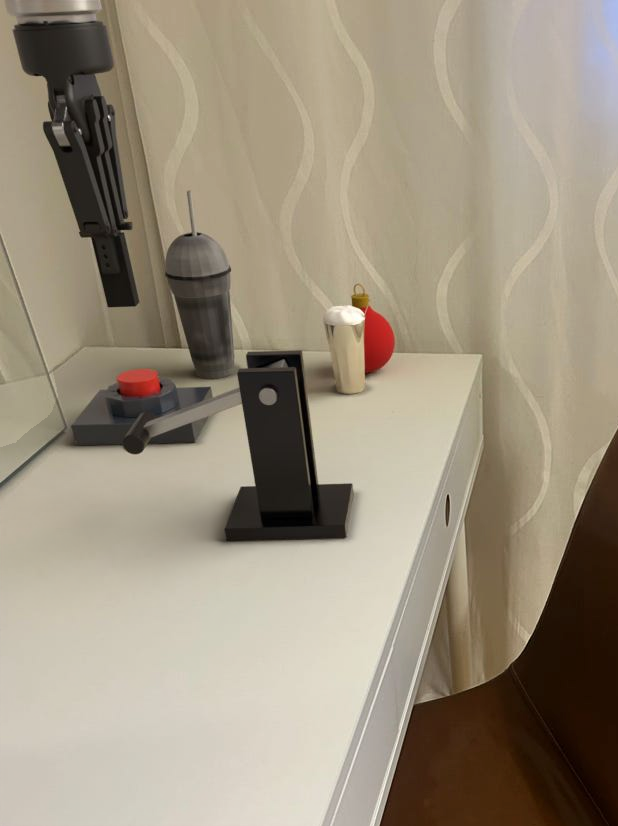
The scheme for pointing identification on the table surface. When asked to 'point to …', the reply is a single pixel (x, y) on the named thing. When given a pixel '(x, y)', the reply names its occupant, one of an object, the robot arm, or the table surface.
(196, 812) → the table surface
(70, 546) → the table surface
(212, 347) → the beverage cup
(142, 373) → the button
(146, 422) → the lever
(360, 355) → the milkshake
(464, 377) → the table surface
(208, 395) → the control block
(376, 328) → the christmas ornament
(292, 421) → the bracket
